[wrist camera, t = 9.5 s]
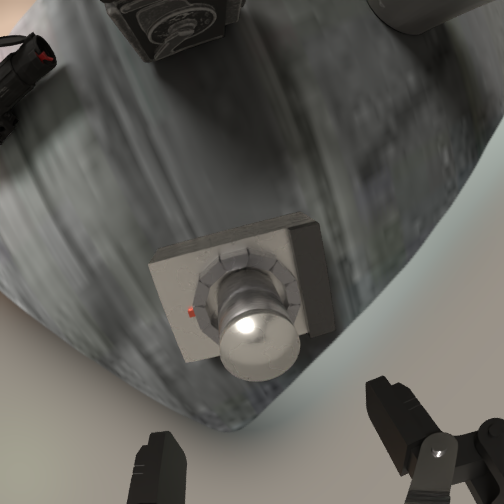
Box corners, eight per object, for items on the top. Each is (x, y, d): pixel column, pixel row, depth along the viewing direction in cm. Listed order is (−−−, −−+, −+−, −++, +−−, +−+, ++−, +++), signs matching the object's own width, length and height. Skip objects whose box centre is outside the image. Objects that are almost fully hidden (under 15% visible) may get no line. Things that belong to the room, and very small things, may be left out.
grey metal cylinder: (269, 263, 26) (293, 304, 18) (281, 315, 27) (305, 369, 20) (210, 278, 25) (209, 326, 18) (226, 330, 27) (231, 388, 19)
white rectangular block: (299, 211, 30) (321, 224, 24) (317, 302, 33) (337, 333, 27) (158, 248, 29) (144, 270, 23) (189, 335, 32) (184, 372, 26)
